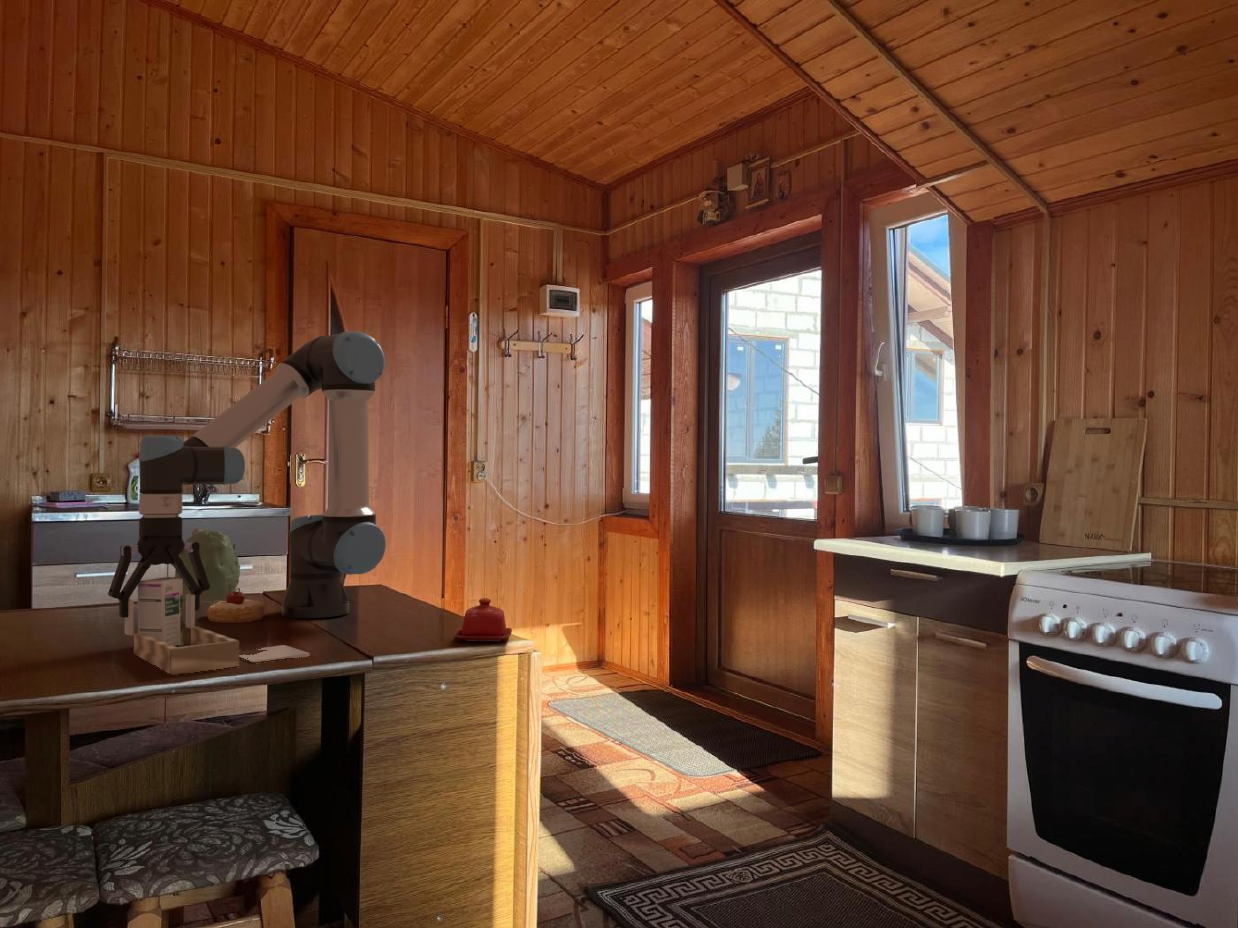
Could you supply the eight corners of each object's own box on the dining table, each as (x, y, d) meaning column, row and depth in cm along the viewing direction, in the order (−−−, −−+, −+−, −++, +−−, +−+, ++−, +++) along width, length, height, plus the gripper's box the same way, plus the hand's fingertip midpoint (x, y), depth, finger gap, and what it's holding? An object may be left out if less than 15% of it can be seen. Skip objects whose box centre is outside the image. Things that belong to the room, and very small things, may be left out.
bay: (133, 660, 175) (134, 633, 175) (197, 652, 183) (197, 626, 183) (172, 678, 160) (172, 649, 160) (239, 668, 168) (239, 640, 168)
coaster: (228, 656, 179) (228, 652, 179) (284, 648, 186) (284, 644, 186) (252, 665, 171) (252, 661, 171) (309, 657, 178) (309, 653, 178)
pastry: (250, 620, 220) (250, 582, 220) (273, 626, 212) (273, 587, 212) (198, 626, 212) (198, 587, 212) (220, 633, 203) (220, 592, 203)
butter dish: (512, 633, 207) (513, 594, 207) (510, 642, 195) (510, 601, 195) (460, 633, 206) (460, 594, 206) (454, 643, 195) (454, 602, 195)
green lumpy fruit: (184, 615, 226) (184, 532, 226) (165, 605, 241) (165, 527, 241) (251, 609, 236) (251, 529, 236) (228, 600, 251) (229, 525, 251)
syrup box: (163, 657, 178) (164, 580, 178) (136, 655, 179) (137, 579, 179) (183, 651, 183) (184, 577, 183) (157, 650, 184) (157, 576, 184)
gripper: (100, 518, 170) (100, 641, 170) (228, 514, 186) (228, 626, 186) (89, 517, 176) (88, 635, 176) (214, 513, 192) (213, 621, 192)
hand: (160, 630), depth 181 cm, fingers open, 10 cm apart
